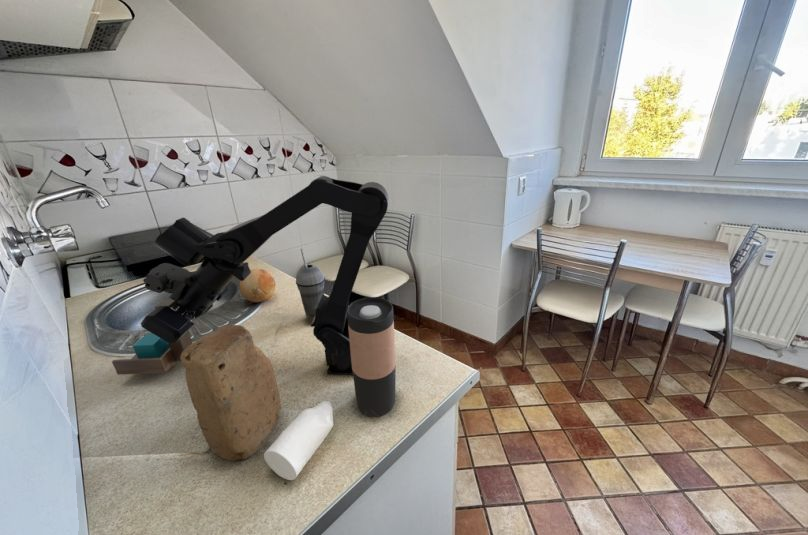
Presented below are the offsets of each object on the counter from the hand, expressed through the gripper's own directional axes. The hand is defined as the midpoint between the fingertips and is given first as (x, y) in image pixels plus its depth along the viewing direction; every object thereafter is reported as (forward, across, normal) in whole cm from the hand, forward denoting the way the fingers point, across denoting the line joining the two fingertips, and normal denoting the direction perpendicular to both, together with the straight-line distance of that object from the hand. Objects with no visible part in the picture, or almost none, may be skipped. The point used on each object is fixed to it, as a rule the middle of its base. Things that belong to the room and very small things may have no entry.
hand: (169, 330), depth 64 cm
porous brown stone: (-7, +17, +22) cm, 29 cm away
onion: (+4, -31, +11) cm, 33 cm away
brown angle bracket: (+7, 0, +2) cm, 7 cm away
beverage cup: (-10, -19, +24) cm, 32 cm away
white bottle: (-14, +19, +29) cm, 38 cm away
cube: (+7, 0, +1) cm, 7 cm away
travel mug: (-22, +11, +37) cm, 44 cm away
